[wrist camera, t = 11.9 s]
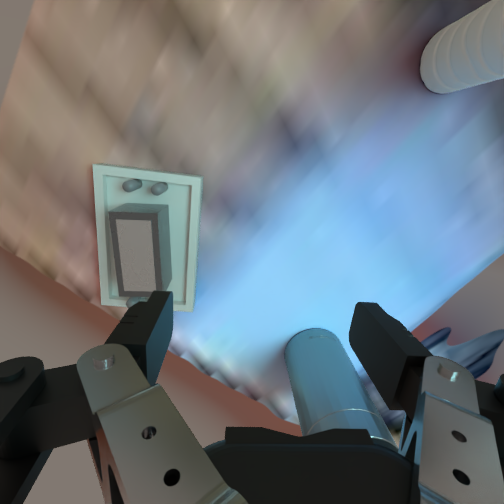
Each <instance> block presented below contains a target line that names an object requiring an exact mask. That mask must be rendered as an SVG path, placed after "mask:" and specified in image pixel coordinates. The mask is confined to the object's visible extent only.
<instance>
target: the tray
mask: <svg viewBox="0 0 504 504" xmlns="http://www.w3.org/2000/svg"><path fill="white" fill-rule="evenodd" d="M93 179H94V195H95V211H96V226H97V242H98V258H99V274H100V290H101V305H109V306H121V307H128V308H130V307H131V306H133V305H134V304H136V303H137V302H139V301H143V302H147V300H148V299H149V297H119V292H118V284H117V276H116V268H115V260H114V253H113V245H112V237H111V229H110V221H109V213H108V211H110V210H112V209H114V208H117V207H119V206H121V205H123V204H125V203H141V204H165V205H168V206H169V226H170V246H171V265H172V280H171V282H170V284H169V286H168V288H167V290H166V291H172V292H173V311H184V312H193V309H194V305H195V295H196V280H197V264H198V249H199V234H200V219H201V204H202V188H203V176H199V175H191V174H183V173H175V172H167V171H159V170H151V169H143V168H135V167H127V166H119V165H111V164H103V163H99V164H93Z"/></svg>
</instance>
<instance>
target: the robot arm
mask: <svg viewBox="0 0 504 504" xmlns="http://www.w3.org/2000/svg"><path fill="white" fill-rule="evenodd" d="M172 331H173V292H172V291H159V290H154V291H153V292H152V294H151V296H150V297H149V299H148V300H147V302H143V301H139V302H137V303H136V304H134V305H133V306H131V307H130V308H129V309H128V310H127V312H126V313H125V315H124V317H123V318H122V319H121V320H120V323H119V324H118V325H117V326H116V328H115V329H114V331H113V332H112V333H111V335H110V336H109V338H108V339H107V341H106V342H105V344H104V345H100V346H97V347H94V348H92V349H90V350H88V351H87V352H85V353H84V354H83V355H82V356H81V357H80V358H79V359H78V361H77V364H73V365H69V366H63V367H58V368H52V369H47V370H44V365H43V362H42V361H41V360H40V359H38V358H36V357H18V358H14V359H10V360H7V361H4V362H1V363H0V504H23V502H24V501H25V499H26V497H27V495H28V493H29V492H30V490H31V488H32V486H33V484H34V483H35V481H36V479H37V477H38V475H39V474H40V472H41V470H42V468H43V466H44V465H45V463H46V461H47V459H48V457H49V456H50V454H51V452H52V450H53V448H57V447H60V446H64V445H67V444H71V443H75V442H78V441H82V440H86V439H87V443H88V446H89V449H90V452H91V456H92V459H93V463H94V466H95V469H96V473H97V476H98V479H99V483H100V486H101V489H102V493H103V497H104V501H105V504H504V374H502V375H501V376H500V378H499V380H498V382H497V384H496V385H494V384H489V383H485V382H481V381H478V380H474V377H473V376H472V374H471V373H470V372H469V371H468V370H467V369H465V368H464V367H463V366H461V365H459V364H458V363H456V362H454V361H452V360H449V359H447V358H443V357H439V356H433V355H432V354H431V353H430V352H429V351H428V350H427V349H426V348H425V347H424V346H423V345H422V344H421V343H420V342H419V341H418V340H417V339H416V338H415V337H413V335H412V334H411V333H410V332H409V331H407V329H406V328H405V327H404V325H403V324H402V323H401V322H400V321H398V320H396V319H395V318H393V317H392V316H390V315H388V314H387V313H386V312H385V311H384V310H383V309H382V308H381V307H380V306H379V305H378V304H377V303H370V302H358V303H357V304H356V306H355V310H354V314H353V318H352V322H351V327H350V331H349V342H350V345H351V347H352V349H353V351H354V352H355V354H356V356H357V357H358V359H359V361H360V362H361V364H362V365H363V367H364V369H365V370H366V372H367V374H368V375H369V377H370V379H371V380H372V382H373V384H374V385H375V387H376V388H377V390H378V392H379V393H380V395H381V397H382V398H383V400H384V402H385V403H386V405H387V406H388V408H389V410H404V411H405V412H406V415H405V418H404V420H403V426H402V432H401V438H400V444H399V449H398V447H397V445H396V443H395V441H394V439H393V437H392V436H391V434H390V432H389V430H388V428H387V426H386V425H385V423H384V421H383V419H382V417H381V416H380V414H379V412H378V410H377V408H376V406H375V405H374V403H373V401H372V399H371V397H370V395H369V394H368V392H367V390H366V388H365V386H364V384H363V382H362V381H361V379H360V377H359V375H358V373H357V371H356V370H355V368H354V366H353V364H352V362H351V360H350V358H349V357H348V355H347V353H346V351H345V349H344V348H343V346H342V344H341V342H340V340H339V339H338V337H337V336H336V335H335V334H333V333H332V332H330V331H327V330H324V329H309V330H305V331H303V332H300V333H299V334H297V335H296V336H294V337H293V338H292V339H291V340H290V342H289V343H288V344H287V347H286V349H285V362H286V366H287V370H288V375H289V379H290V384H291V388H292V392H293V397H294V401H295V405H296V410H297V414H298V418H299V422H300V427H301V431H302V435H303V436H302V437H298V436H293V435H290V434H286V433H282V432H278V431H274V430H270V429H266V428H262V427H226V431H225V440H222V441H218V442H216V443H213V444H211V445H208V446H207V447H205V448H202V447H201V445H200V444H199V442H198V441H197V439H196V438H195V436H194V434H193V433H192V431H191V430H190V428H189V427H188V426H187V424H186V422H185V421H184V419H183V418H182V416H181V415H180V413H179V412H178V410H177V409H176V407H175V406H174V404H173V403H172V401H171V400H170V398H169V397H168V395H167V393H166V392H165V390H164V389H163V388H162V386H161V385H160V384H155V383H156V380H157V377H158V374H159V372H160V369H161V366H162V363H163V360H164V357H165V354H166V352H167V349H168V346H169V343H170V340H171V337H172Z"/></svg>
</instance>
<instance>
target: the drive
mask: <svg viewBox="0 0 504 504" xmlns="http://www.w3.org/2000/svg"><path fill="white" fill-rule="evenodd" d="M108 213H109V221H110V229H111V237H112V245H113V253H114V260H115V268H116V276H117V284H118V292H119V297H150V296H151V294H152V292H153V291H154V290H159V291H166V290H167V288H168V286H169V284H170V282H171V280H172V265H171V246H170V226H169V206H168V205H165V204H141V203H125V204H123V205H121V206H119V207H117V208H114V209H112V210H110V211H108Z"/></svg>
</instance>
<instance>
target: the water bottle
mask: <svg viewBox="0 0 504 504" xmlns="http://www.w3.org/2000/svg"><path fill="white" fill-rule="evenodd" d="M420 74H421V78H422V80H423V82H425V86H426V87H427V88H428V89H429V90H431V91H432V92H436V93H439V94H446V93H451V92H455V91H459V90H462V89H465V88H469V87H473V86H476V85H479V84H484V83H488V82H491V81H494V80H498V79H502V78H504V0H492V1H490V2H488V3H486V4H484V5H483V6H481V7H479V8H478V9H476V10H475V11H473V12H471V13H469V14H467V15H466V16H464V17H462V18H461V19H459V20H458V21H456V22H454V23H452V24H450V25H448V26H447V27H445V28H443V29H442V30H440V31H439V32H438V33H436V34H435V35H434V36H433V37H432V38H431V40H430V41H429V43H428V44H427V45H426V47H425V49H424V51H423V54H422V57H421V65H420Z"/></svg>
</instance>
